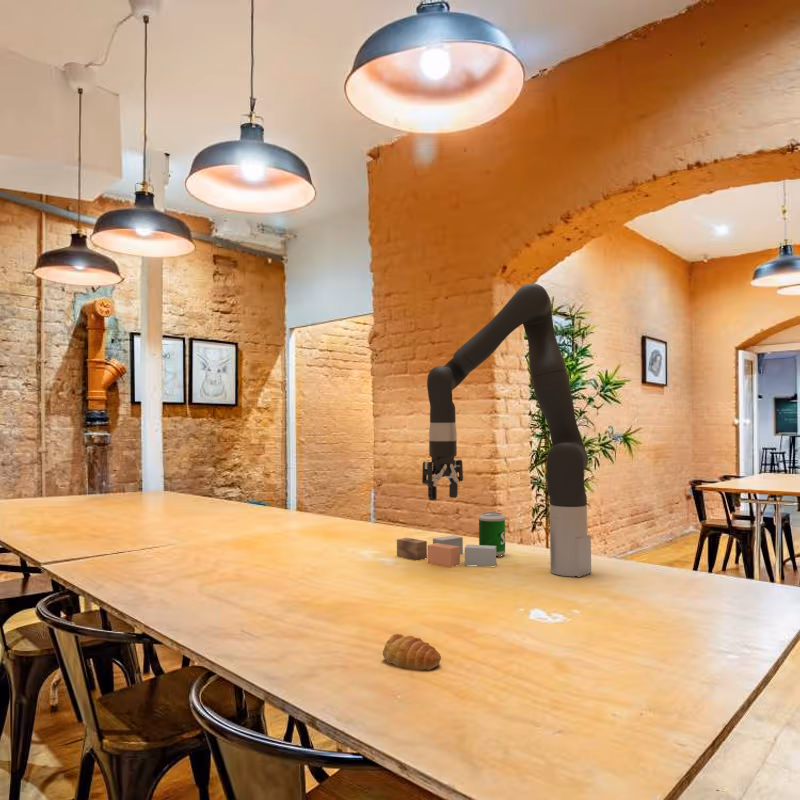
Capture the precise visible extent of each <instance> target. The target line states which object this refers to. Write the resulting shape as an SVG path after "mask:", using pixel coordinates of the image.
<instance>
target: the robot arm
mask: <svg viewBox="0 0 800 800" xmlns="http://www.w3.org/2000/svg"><path fill="white" fill-rule="evenodd" d="M552 313H553V312H552V302H551V298H550V295H549V294H548V292H547V289H546V288H544V287H543V286H542V285H540V284H538V283H533V282H532V283H527V284H524V285H523V286H521V287H520V288H518V290H517V291H516V292H515V293H514V294H513V295H512V296H511V298H510V299H509V300H508V302H506V304H505V305H504V306H503V307H502V308H501V310H500V311H499V312H498V313H497V314H496V315H494V316H493V318H492V319H491V320H490V321H489V322H487V323H486V325H485V326H483V327H482V328H481V329H480V330H479V331H478V332H476V334H474V335H473V336H472V337H471V338H470V339H468V340H467V341H466V342H464V344H462V345H461V346H460V347H459V348H458V349H457V350H456V351H455V352H454V353H453V355H452V356H453V357H452V358H451V359H450V360H448V361H447V363H446V364H444V365H443V366H442V365H437V366H433V367H432V368H431V369H430V371H428V375H427V380H426V388H427V394H428V395H427V396H428V401H429V431H428V448H429V449H428V450H429V451H428V455H429V457H430V458H431V460H430V461H423V462H422V477H421V479H422V480H421V481H422V482H421V483H422V484H423V485H426V486H427V497H428V500H429V501H436V500H437V497H438V496H437V495H438V494H437V492H438V491H437V490H438V489H437V485H438V483H439V481H440V480H441V479H442V478H447V480H448V481H449V485H448V487H449V489H448V491H449V493H448V494H449V495H448V496H449V498H452V499H455V498H457V497H458V491H459V490H458V486H459V483H460V482H463V481H464V474H463V473H464V467H463V460H462V459H455V457H457V455H458V454H457V453H458V452H457V447H458V446H457V443H458V442H457V440H458V436H457V424H456V406H455V404H454V401H453V390H454V389H456V388H457V387H459V385H460V384H461V383H462V382H464V380H465V379H466V378H467V377H468V375H469V374H470V373H471V372H472V371H475V369H476V368H478V367H480V365H481V364H482V363H483V362H485V361H486V360H487V359H488V358H490V356H492V354H493V353H494V352H495V351H497V349H498V348H499V346H500V345H502V343H503V342H504V340H506V339H507V337H508V336H510V334H511V333H513V332H514V331H515V330H516V329H518V328H519V327H520V326H523V329H524V331H525V335H526V340H527V343H528V361H529V364H528V365H529V372H530V379H531V382H532V386H533V391H534V395H535V399H536V401H537V404H538V406H539V408H540V410H541V412H542V415H543V416H544V418H545V420H546V423H547V426H548V430H549V433H550V439H551V440H550V441H551V448H550V449H549V451H548V453H547V456H546V484H547V485H546V486H547V488H546V489H547V493H548V497H549V498H548V499H549V549H550V550H549V557H550V558H549V559H550V560H549V561H550V562H549V563H550V565H549V566H550V572H551V574H554V575H558V576H562V577H563V576H564V577H575V576H577V578H581V576H582V577H584V576H587V575H590V574H592V539H591V535H590V534H588V500H587V499H588V496H587V493H586V488H585V470H586V469H587V466H588V463H589V459H588V452H587V449H586V448H585V447H586V446H585V443H584V441H583V439H582V435H581V433H580V430H579V427H578V423H577V419H576V414H575V406H574V400H573V394H572V390H571V384H570V380H569V375H568V371H567V366H566V363H565V360H564V358H563V354H562V351H561V348H560V346H559V344H558V340H557V337H556V333H555V327H554V319H553V314H552ZM589 573H590V574H589ZM586 574H587V575H586ZM583 575H584V576H583Z"/></svg>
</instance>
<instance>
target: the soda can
mask: <svg viewBox="0 0 800 800" xmlns="http://www.w3.org/2000/svg"><path fill="white" fill-rule="evenodd" d="M478 545H487V546H496V556H501V555H504V554H506V517H505V516H504V515H503V513H501V512H495V511H488V512H487V511H486V512H482V513H481V514H480V515H479V516H478ZM501 557H502V556H501Z"/></svg>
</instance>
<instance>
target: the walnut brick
mask: <svg viewBox="0 0 800 800" xmlns="http://www.w3.org/2000/svg"><path fill="white" fill-rule="evenodd" d="M427 541H428V540H422V539H417V538H412V537H411V538H409V537H404V538H398V539H396V557H397V556H398V558H401V557H403V558H402V559H406V558H407V559H408V560H411V559H412V560H413V561H416V560H418V561H421V559H422V560H426V559H425V558H427V559H428V542H427ZM407 559H406V560H407ZM412 560H411V561H412Z"/></svg>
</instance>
